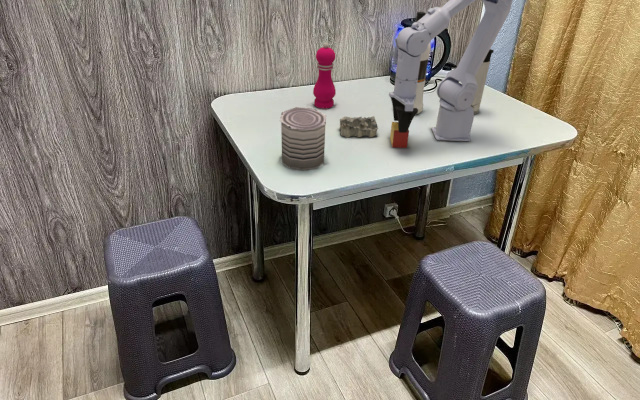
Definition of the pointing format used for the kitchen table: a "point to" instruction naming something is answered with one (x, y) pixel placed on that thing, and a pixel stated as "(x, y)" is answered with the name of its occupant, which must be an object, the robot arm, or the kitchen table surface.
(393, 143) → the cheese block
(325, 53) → the pepper mill
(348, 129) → the egg carton
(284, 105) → the kitchen table surface
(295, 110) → the can
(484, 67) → the travel mug
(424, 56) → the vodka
